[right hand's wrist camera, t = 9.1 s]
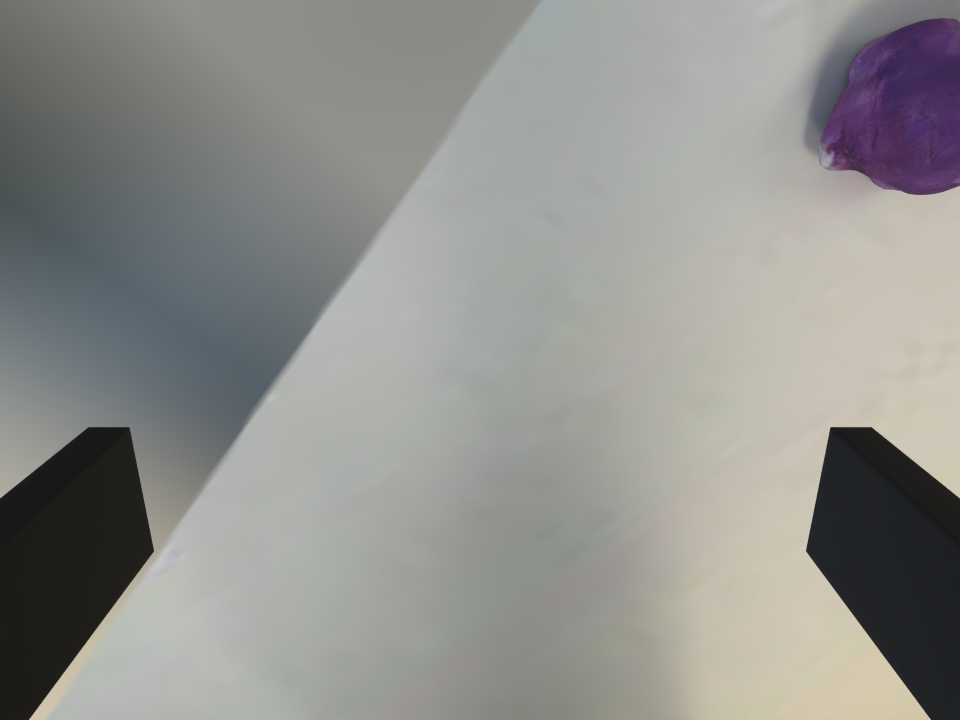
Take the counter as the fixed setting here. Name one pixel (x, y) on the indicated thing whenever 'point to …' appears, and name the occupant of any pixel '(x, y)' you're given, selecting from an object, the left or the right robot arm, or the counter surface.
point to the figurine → (901, 111)
